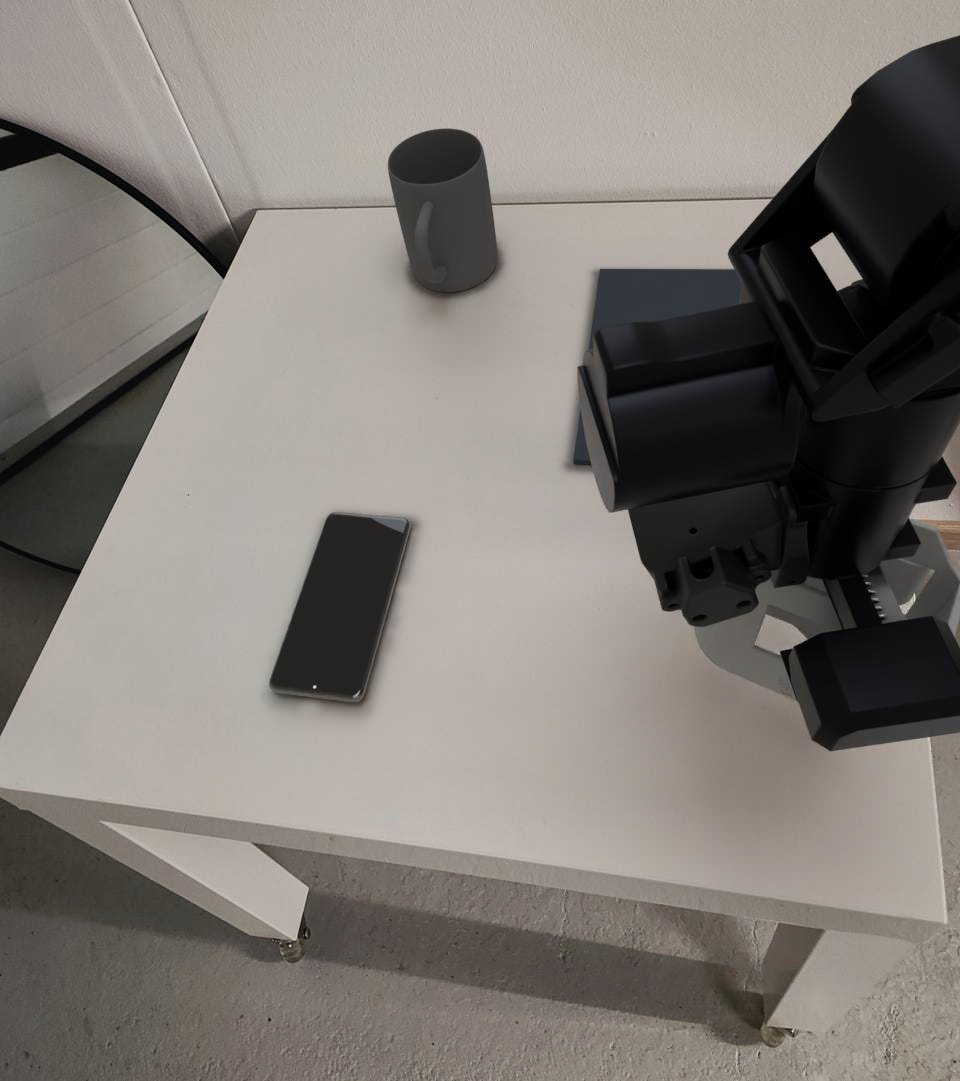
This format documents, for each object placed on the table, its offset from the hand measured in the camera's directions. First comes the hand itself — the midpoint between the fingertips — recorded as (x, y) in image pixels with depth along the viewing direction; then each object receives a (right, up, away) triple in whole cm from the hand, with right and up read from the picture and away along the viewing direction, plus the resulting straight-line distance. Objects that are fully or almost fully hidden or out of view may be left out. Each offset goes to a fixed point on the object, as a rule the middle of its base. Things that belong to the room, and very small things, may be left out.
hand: (786, 620), depth 43 cm
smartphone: (-27, -1, +19) cm, 33 cm away
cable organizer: (+2, -3, +4) cm, 5 cm away
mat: (+3, +20, +28) cm, 35 cm away
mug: (-19, +31, +39) cm, 53 cm away
